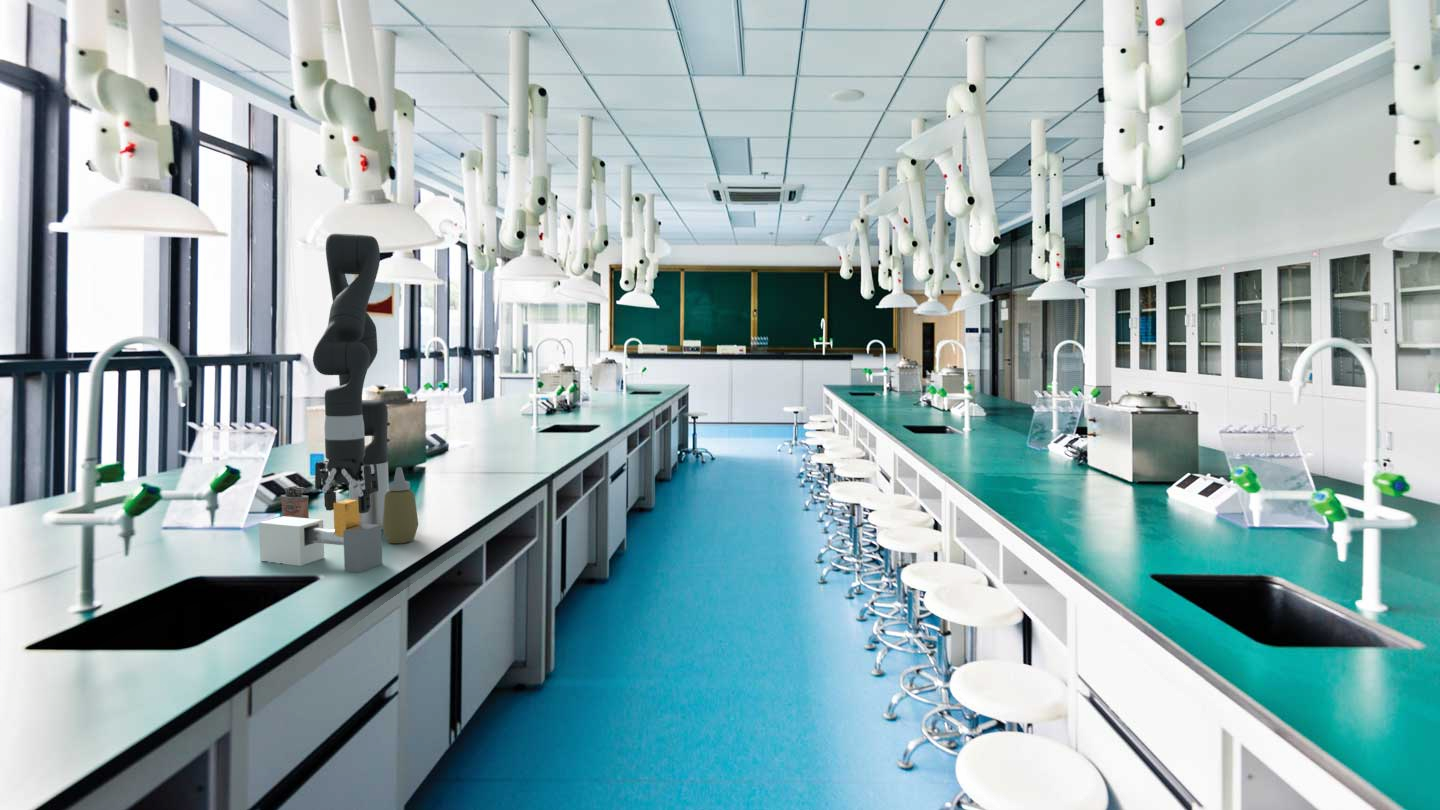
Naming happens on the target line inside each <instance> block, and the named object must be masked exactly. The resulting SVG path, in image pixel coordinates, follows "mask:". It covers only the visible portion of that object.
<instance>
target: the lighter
mask: <svg viewBox="0 0 1440 810" xmlns="http://www.w3.org/2000/svg"><path fill="white" fill-rule="evenodd" d="M284 492H285V494H281V495H280V500H281V515H282V516H287V517H298V518H309V519H310V517H309V515H310V514H309V495H303V494H304V493H306V488H305V487H303V486H301V487H300V486H297V485H293V486H287V487H286V486H285V488H284ZM302 493H303V494H302ZM282 516H281V517H282Z"/></svg>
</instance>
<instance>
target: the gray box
mask: <svg viewBox="0 0 1440 810" xmlns="http://www.w3.org/2000/svg"><path fill="white" fill-rule="evenodd" d="M343 534H344V545H343V558H344V559H343V560H344V561H343V564H344V571H345V572H350V573H351V572H352V573H362V572H365V571H369V570H370V569H374V568H375V567H378V566H380V565H383V546H382V545H383V543H382V535H383V534H382V530H381V525H376V524H363V525H360V526H357V527H353V528H350V529H347V530H344V531H343Z"/></svg>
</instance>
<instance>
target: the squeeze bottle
mask: <svg viewBox="0 0 1440 810" xmlns="http://www.w3.org/2000/svg"><path fill="white" fill-rule="evenodd" d="M388 483H389V490H390V491H389V492H387V493H386V494H385V500H384V513H383V525H382V529H383V530H382V531H383V534H384V536H385V538H386V541H387V543H389V544H395V543H396V545H398V543H399V544H407V543H410V542H412V541H414V540H415V537H416V533H417V530H418V528H419V519H418V518H419V517H418V511H417V505H416V504H417V503H416V496H415V495H416V494H415V492H414V491H413V490H411V489H410V488H411V482H410V481H408V480H406V479H405V474H404V471H403V468H402V467H400V466H399V467H395V473H394V477H393V481H391V482H388Z"/></svg>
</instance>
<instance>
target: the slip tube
mask: <svg viewBox="0 0 1440 810" xmlns="http://www.w3.org/2000/svg"><path fill="white" fill-rule="evenodd" d="M333 505H334V510H333V525H334V526H333V528H325V527H323V528H315V527H305V528H304V542H314V543H324V545H325V544H326V545H333V546H334V545H335V546H344V534H343V531H344V530H347V529H350V528H353V527H357V526H360V513H359V505H358V500H352V499H349V498H348V499H344V500H339V501H336V502H335V503H333Z"/></svg>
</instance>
